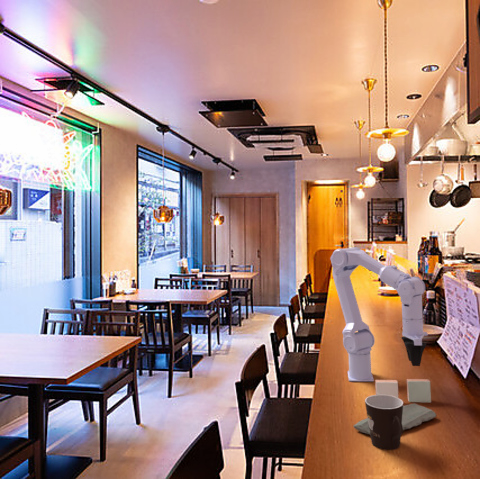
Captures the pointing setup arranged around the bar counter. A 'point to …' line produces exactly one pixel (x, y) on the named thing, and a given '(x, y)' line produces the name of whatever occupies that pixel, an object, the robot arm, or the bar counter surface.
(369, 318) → the bar counter surface
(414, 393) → the pink flat block
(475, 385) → the bar counter surface
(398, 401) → the coffee mug
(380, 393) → the cream tile
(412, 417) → the stone slab
